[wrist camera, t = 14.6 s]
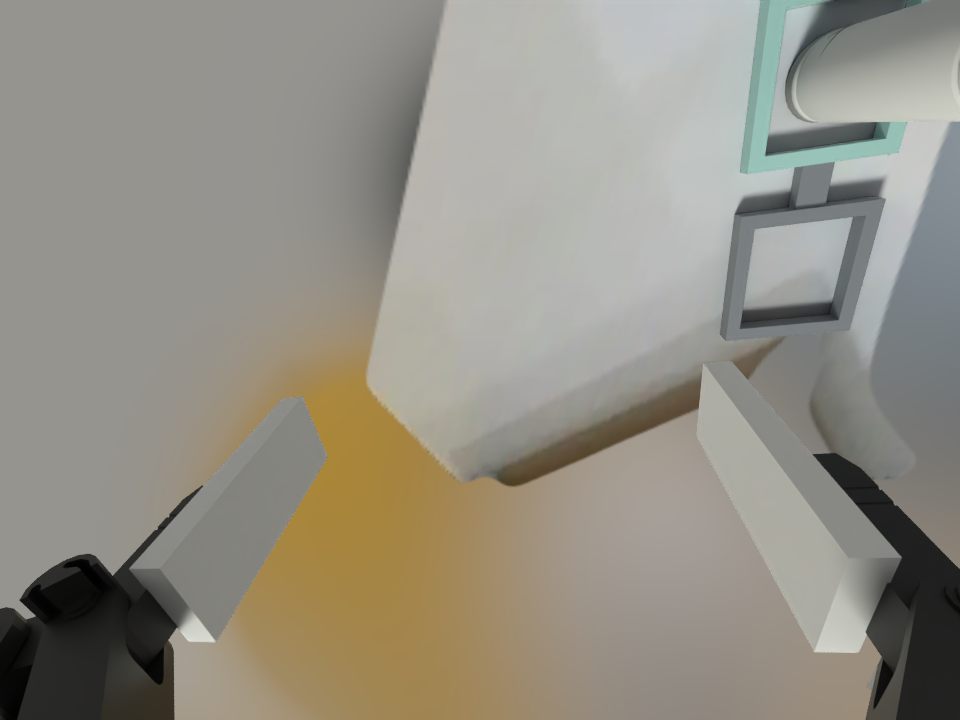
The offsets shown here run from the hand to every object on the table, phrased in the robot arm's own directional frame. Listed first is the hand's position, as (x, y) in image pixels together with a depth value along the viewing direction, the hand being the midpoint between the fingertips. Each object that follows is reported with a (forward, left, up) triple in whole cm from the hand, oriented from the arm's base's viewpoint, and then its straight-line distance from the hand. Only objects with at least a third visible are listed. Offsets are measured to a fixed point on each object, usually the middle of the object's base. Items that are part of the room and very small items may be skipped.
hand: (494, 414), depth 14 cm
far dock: (+6, +26, -32) cm, 41 cm away
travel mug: (-8, +26, -32) cm, 42 cm away
